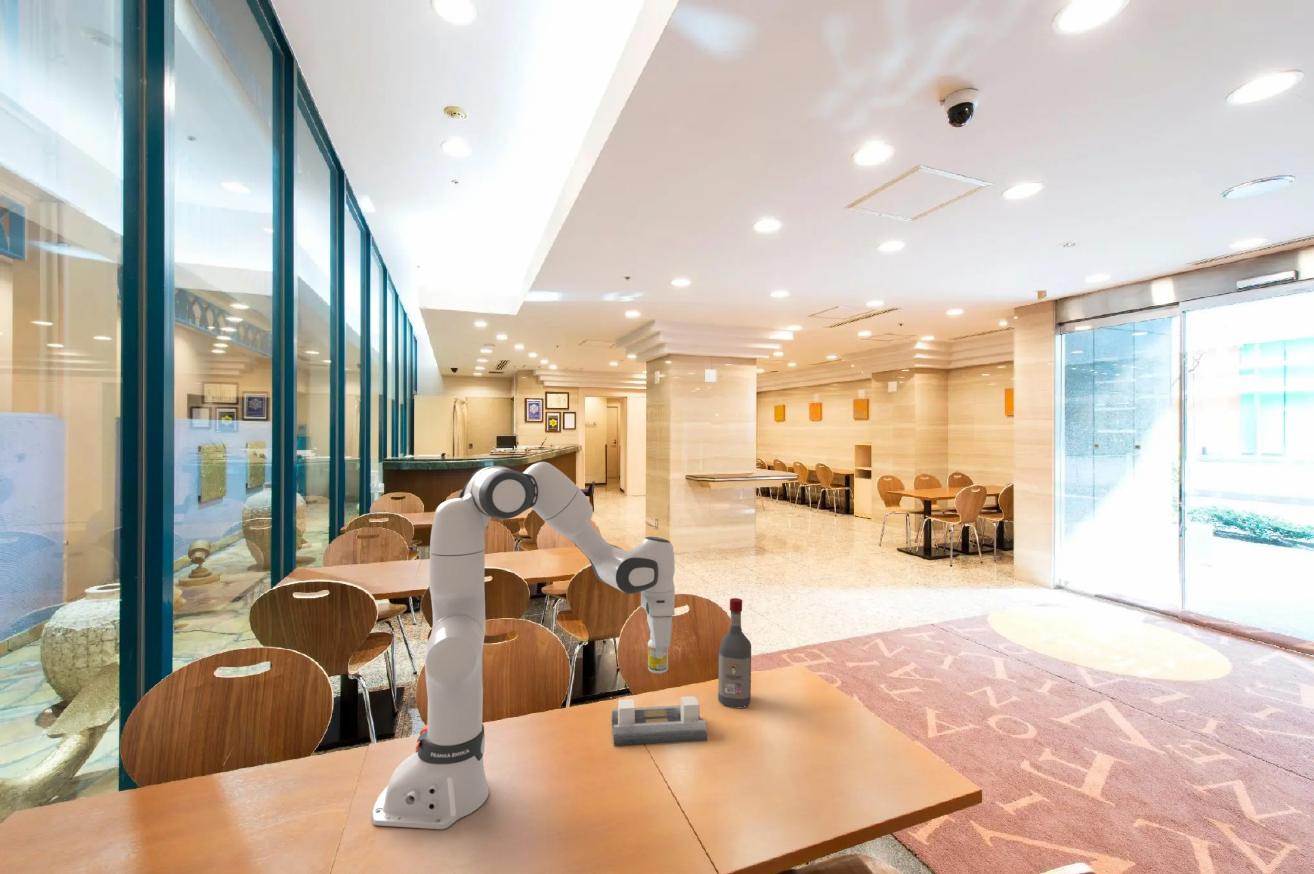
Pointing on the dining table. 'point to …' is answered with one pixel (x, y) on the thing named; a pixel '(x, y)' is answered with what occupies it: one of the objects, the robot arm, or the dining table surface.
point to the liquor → (735, 662)
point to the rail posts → (687, 713)
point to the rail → (657, 727)
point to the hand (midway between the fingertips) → (657, 652)
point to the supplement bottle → (653, 662)
